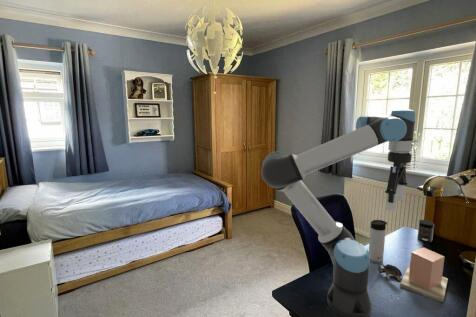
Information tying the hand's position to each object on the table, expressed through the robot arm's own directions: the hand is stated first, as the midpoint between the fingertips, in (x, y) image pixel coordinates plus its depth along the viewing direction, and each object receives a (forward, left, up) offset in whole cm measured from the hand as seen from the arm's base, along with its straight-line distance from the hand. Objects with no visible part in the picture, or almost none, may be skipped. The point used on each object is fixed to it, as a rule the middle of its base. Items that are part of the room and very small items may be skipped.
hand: (395, 205), depth 102 cm
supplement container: (+54, -5, -35) cm, 64 cm away
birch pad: (+10, -11, -35) cm, 38 cm away
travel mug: (+16, +9, -35) cm, 39 cm away
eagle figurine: (+6, +1, -35) cm, 35 cm away
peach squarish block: (+10, -11, -33) cm, 36 cm away
